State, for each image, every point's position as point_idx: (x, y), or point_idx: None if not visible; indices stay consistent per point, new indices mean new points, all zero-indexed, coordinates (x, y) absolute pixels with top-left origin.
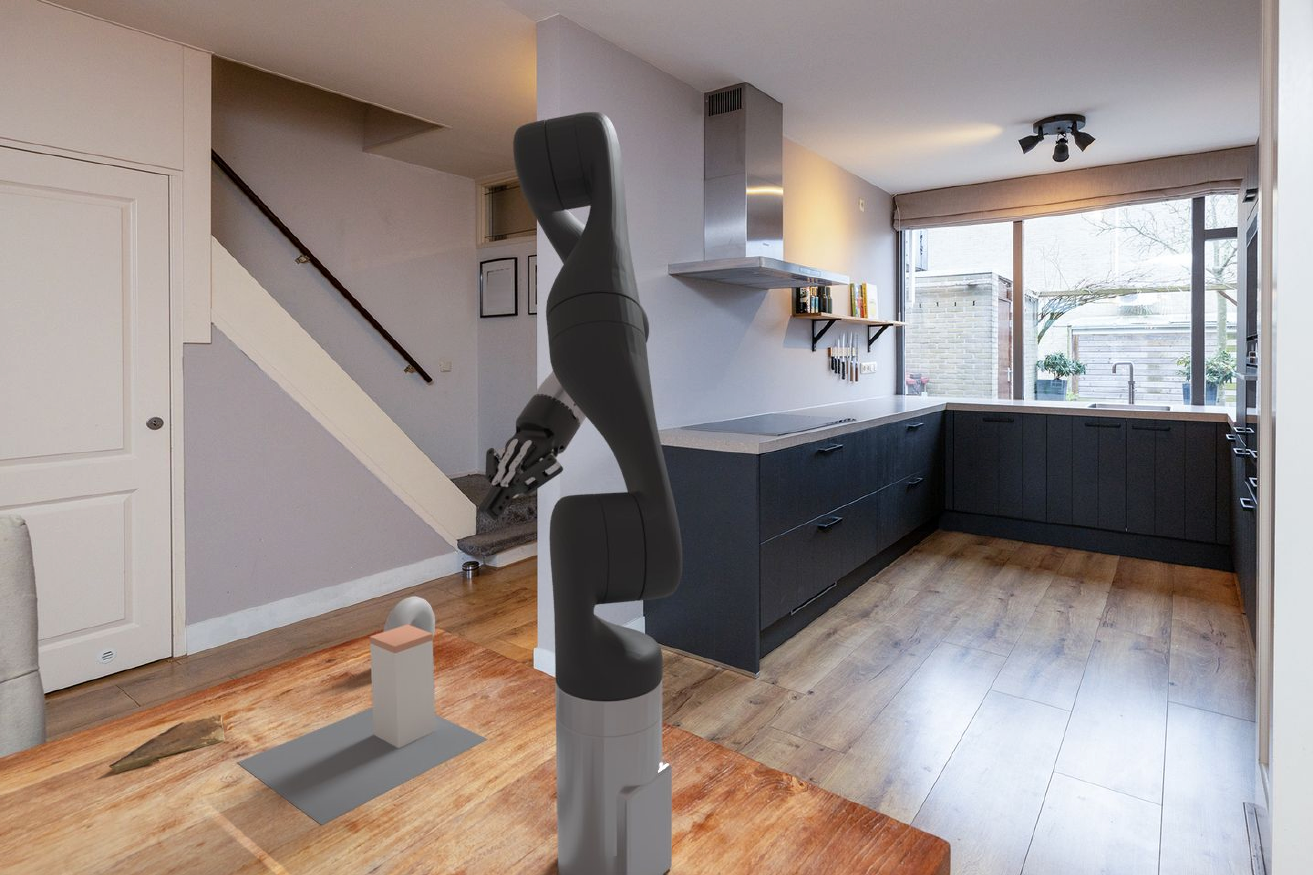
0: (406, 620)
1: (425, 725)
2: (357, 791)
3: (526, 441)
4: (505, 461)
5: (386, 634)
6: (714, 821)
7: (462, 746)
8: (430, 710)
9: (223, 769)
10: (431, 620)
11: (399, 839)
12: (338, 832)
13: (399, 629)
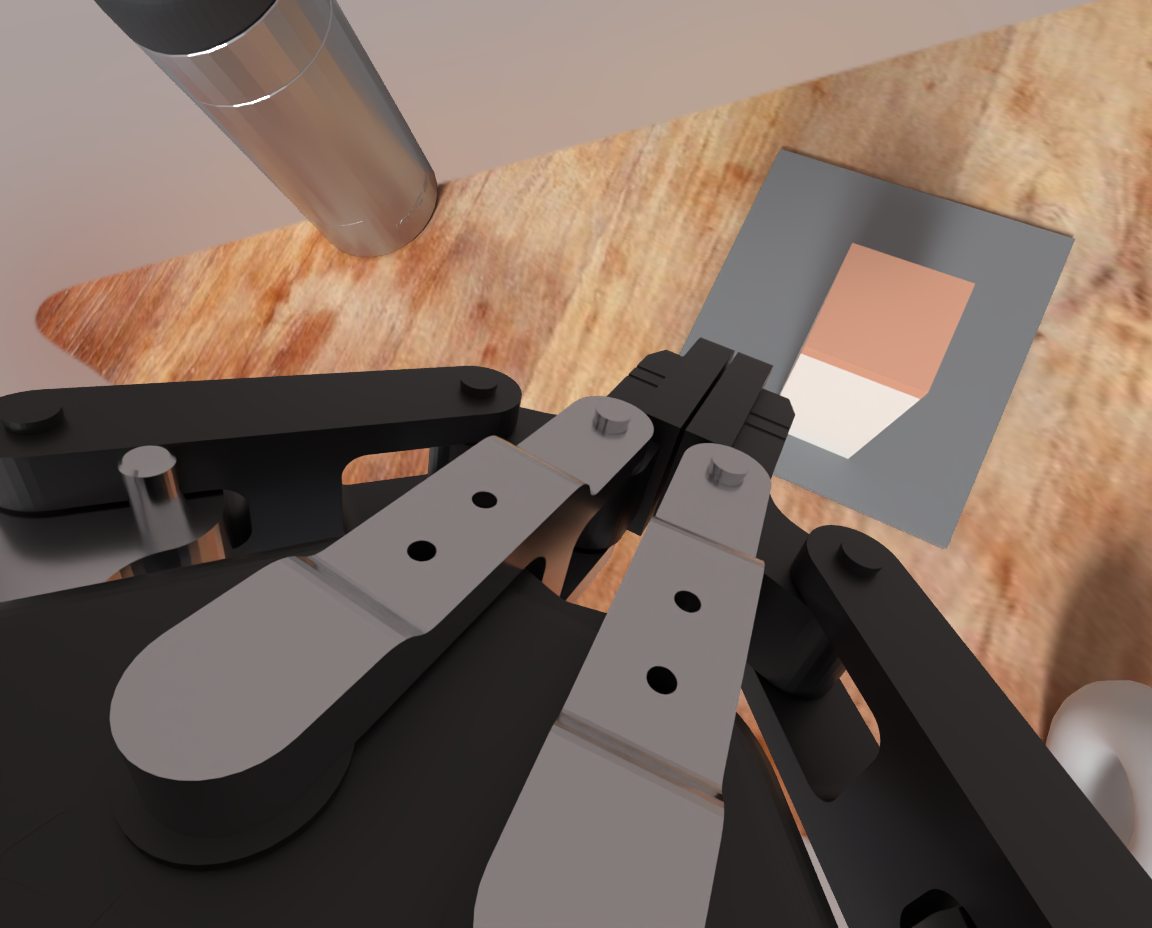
0: (1133, 740)
1: None
2: (783, 226)
3: (235, 771)
4: (671, 579)
5: (936, 307)
6: (262, 309)
7: None
8: None
9: (1088, 231)
10: None
11: (657, 169)
12: (751, 157)
13: (925, 352)
